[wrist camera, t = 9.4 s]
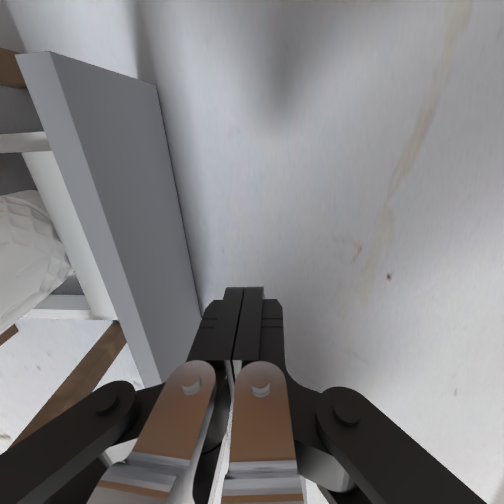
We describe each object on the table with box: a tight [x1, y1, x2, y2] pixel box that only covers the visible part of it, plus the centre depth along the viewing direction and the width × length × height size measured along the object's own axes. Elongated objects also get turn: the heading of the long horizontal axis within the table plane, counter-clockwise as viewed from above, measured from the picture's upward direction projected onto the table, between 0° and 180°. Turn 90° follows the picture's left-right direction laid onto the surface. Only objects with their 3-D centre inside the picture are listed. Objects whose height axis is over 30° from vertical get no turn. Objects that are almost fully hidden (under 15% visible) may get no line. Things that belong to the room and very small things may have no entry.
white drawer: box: [0, 51, 201, 388], centre depth 16 cm, size 20×18×8 cm
